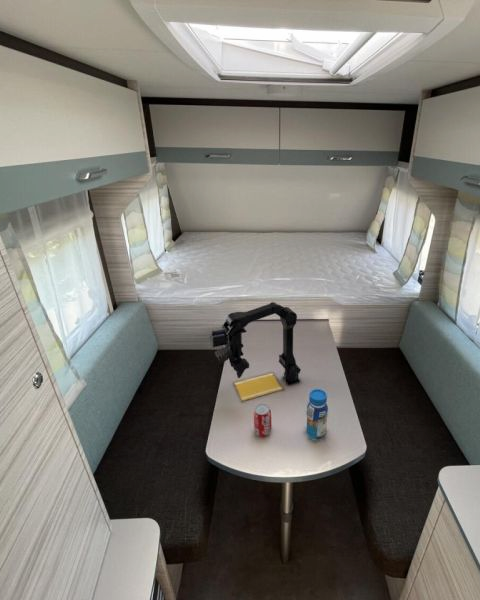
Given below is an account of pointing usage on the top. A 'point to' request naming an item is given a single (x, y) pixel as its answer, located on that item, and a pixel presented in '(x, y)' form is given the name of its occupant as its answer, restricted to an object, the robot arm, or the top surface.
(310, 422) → the beverage bottle
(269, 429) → the soda can
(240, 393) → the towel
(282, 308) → the robot arm
